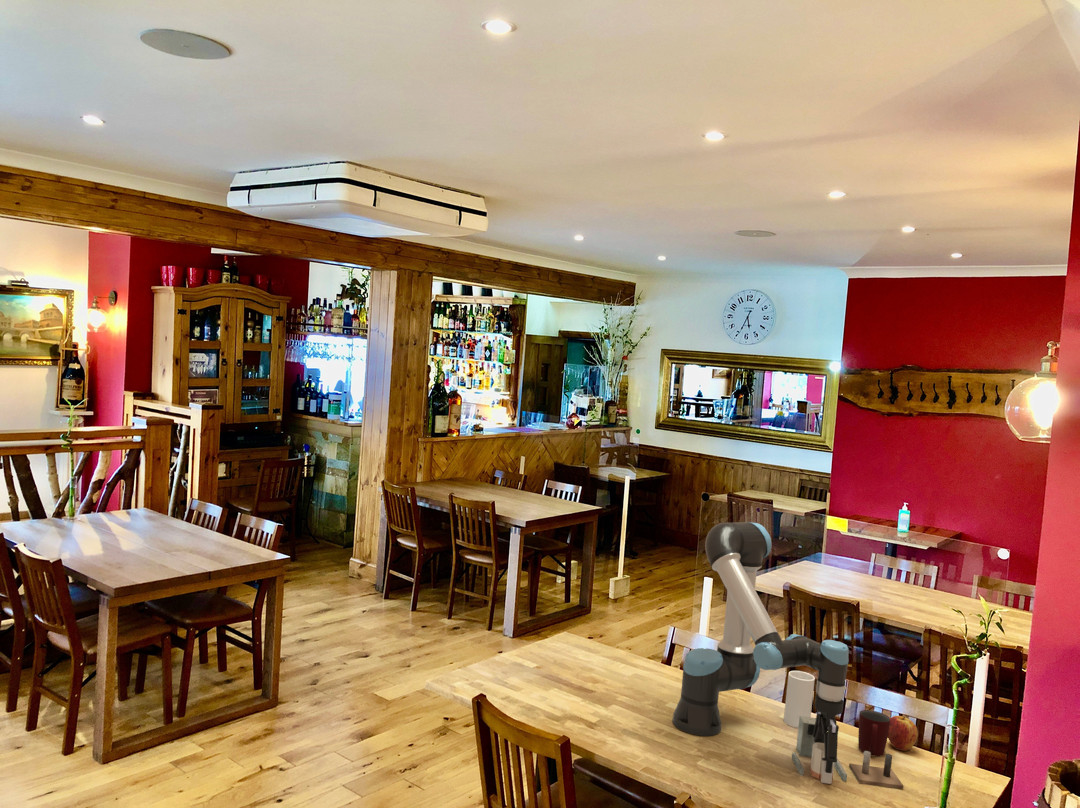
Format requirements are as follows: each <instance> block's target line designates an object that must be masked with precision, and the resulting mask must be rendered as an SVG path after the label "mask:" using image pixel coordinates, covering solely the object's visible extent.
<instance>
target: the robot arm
mask: <svg viewBox="0 0 1080 808" xmlns="http://www.w3.org/2000/svg"><path fill="white" fill-rule="evenodd" d="M704 544H705V545H704V547H705V548H704V549H705V555H706V557H707V561H708V563H709V565H710V567H711V570H713V571H715V572H717V573H718V575H719V577H720V580H721V581H722V583H723V586H724V588H725V589H726V602H725V613H724V614H725V615H724V622H723V623H724V625H723V626H724V627H723V635H722V637H723V638H722V640H720V641H719V642H718V643H717V650H715V649H713V648H708V647H706V648H703V647H701V648H698V647H697V648H694V649H691V650H689V651H688V652H687V653H686V654H685V657H684V662H683V665H682V668H683V669H682V680H681V691H680V692H681V693H680V697H679V701H678V703H677V705H676V707H675V709H674V712H673V714H672V724H673V725H674V727H676V728H677V729H678V730H680V731H682V732H685V733H688V734H691V735H694V736H700V737H701V736H703V737H706V736H707V737H709V736H710V737H711V736H716V735H718V734H719V733H721V731H722V719H721V715H720V710H719V705H718V704H719V695H720V693H721V692H727V691H736V690H744V689H746V688H750V687H752V686H753V685H755V684H756V683H757V682H758V679H759V678H760V675H761V670H764V671H767V670H768V671H770V670H771V671H776V670H779V669H786V668H794V667H801V666H806V667H809V668H811V669H813V670H815V671H818V672H817V679H816V689H815V693H816V694H815V701H814V707H815V709H816V717H815V718H816V721H815V726H814V732H813V737H814V742H816V743H824V750H825V758H822V760H823V766H822V775H821V780H820V782H821V783H822V784H829V785H832V784H833V783H832V782H833V781H832V780H833V779H832V774H833V775H834V769H833V765H834V762H837V758H838V739H839V736H838V735H839V729H840V727H839V725H838V724H837V719H836V716H837V715H838V716H840V715H841V714H842V713H843V711H844V704H845V702H844V698H845V691H847V689H848V688H847V686H846V680H847V679H846V678H847V672H848V664H849V652H850V651H849V647H848V645H847V644H845V643H843V642H841V641H837V640H832V639H825V640H822V642H821V643H820V642H817V641H815V640H813V639H811V638H808V637H806V636H804V635H801V634H800V635H799V634H796V633H792V634H790V635H789V636H788V637H786V638H785V639H784V640H783V639H782V637H781V636H780V634H779V632H778V630H777V628H776V627H775V624H774V623H773V621H772V619H771V617H770V615H769V614H768V612H767V611H768V610H767V609H766V607H765V606H764V604H763V602H762V600H761V598H760V596H759V595H758V593H757V590H756V582H757V571H758V570H760V569H761V568H762V567H763V559H765V558H767V557H768V556H769V554H771V550H772V538H771V536H770V533H769V532H768V531H767V529H766V527H764V525H762V524H760V523H757V522H750V521H740V522H737V521H736V522H726V521H725V522H719V523H717V524H715V525H714V526H713V527H711V529H710V530H709V531H708V533H707V535H706V537H705V543H704ZM751 639H752V641H753V643H754V645H755V646H754V647H753V646H752V645H751Z"/></svg>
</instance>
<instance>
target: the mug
mask: <svg viewBox="0 0 1080 808" xmlns="http://www.w3.org/2000/svg"><path fill="white" fill-rule="evenodd" d="M890 718H891V717H890V716H889V715H887V714H885V713H882V712H880V711H876V710H871V709H863V710H860V711H859V715H858V747H857V748H858V750H859V751H860V752H862V753H863V754H864V751H869V752H870V753H871V756H872V757H883V756H885V751H886V746H887V742H888V732H889V727H890Z"/></svg>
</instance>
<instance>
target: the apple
mask: <svg viewBox="0 0 1080 808" xmlns="http://www.w3.org/2000/svg"><path fill="white" fill-rule="evenodd" d="M889 718H890V727H889V732H888V737H887V739H888V741H889V743H890V745H892V747H894V748H895V749H896V750H899V751H902V752H903V751H910V750H911V749H913V746H914V745H915V743H916V742H917V739H918V734H919V731H918V728H917V725H916V724H915V722H914V721H912V720H911V719H910V718H908V717H906V716H902V715H893V716H891V717H889Z"/></svg>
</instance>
